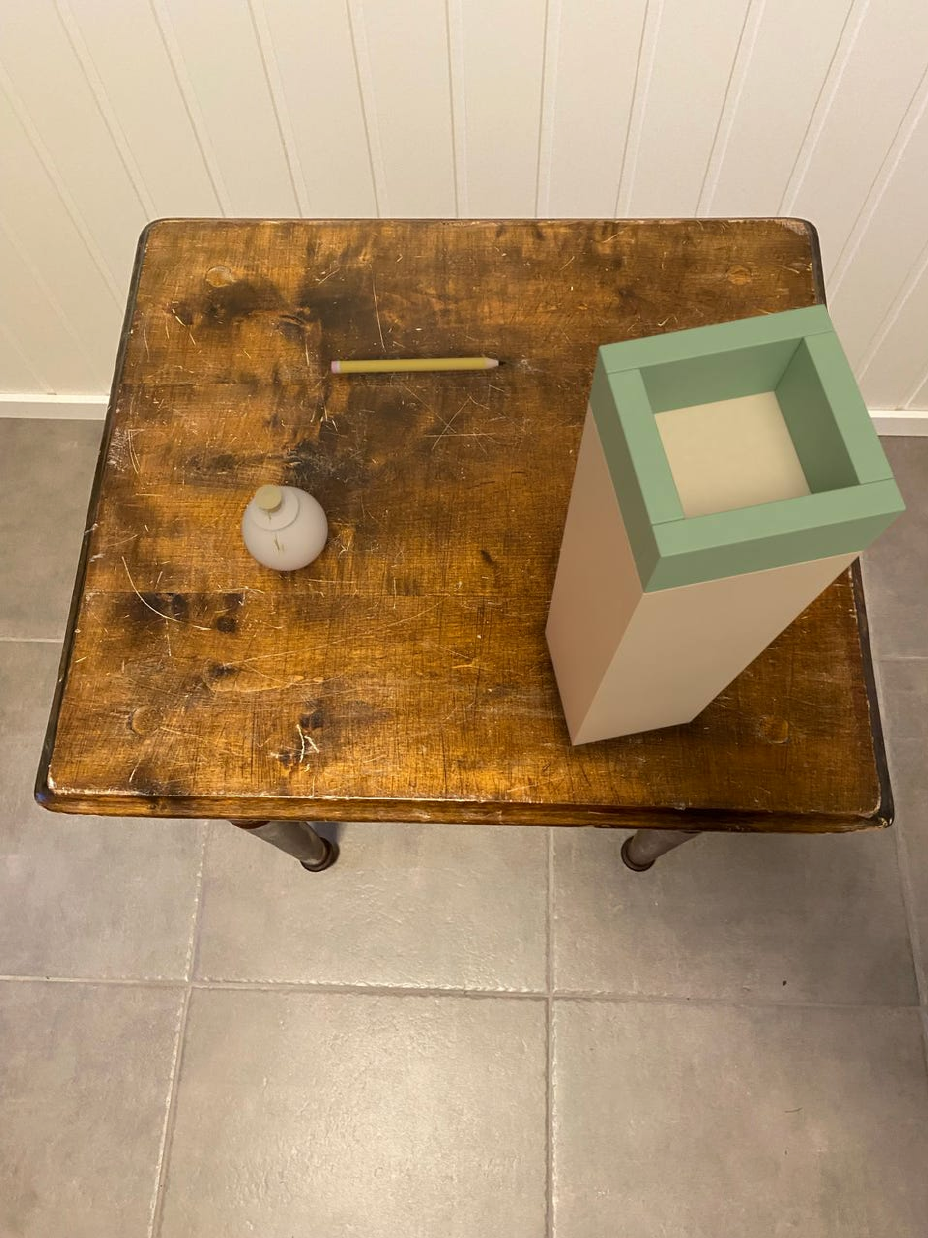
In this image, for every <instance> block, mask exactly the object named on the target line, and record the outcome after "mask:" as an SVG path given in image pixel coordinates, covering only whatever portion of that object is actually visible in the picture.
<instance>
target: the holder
mask: <svg viewBox="0 0 928 1238" xmlns="http://www.w3.org/2000/svg"><path fill="white" fill-rule="evenodd" d="M587 402H588V403H587V408H586V413H585V419H584V423H583V424H584V425H583V428H582V429H583V430H582V435H581V439H580V445H579V451H578V456H577V462H576V466H575V472H574V478H573V482H572V486H571V493H570V499H569V503H568V509H567V514H566V519H565V525H564V529H563V536H562V541H561V546H560V552H559V557H558V562H557V568H556V573H555V579H554V583H553V589H552V595H551V599H550V605H549V609H548V616H547V621H546V625H545V626H546V627H545V631H544V634H545V639H546V642H547V646H548V651H549V654H550V660H551V664H552V668H553V671H554V675H555V679H556V684H557V688H558V692H559V697H560V700H561V704H562V705H561V706H562V709H563V713H564V717H565V721H566V725H567V731H568V735H569V739H570V742H571V746H573V747H575V746H579V745H584V744H588V743H589V744H590V743H593V742H598V741H604V740H609V739H612V738H617V737H622V736H629V735H633V734H638V733H643V732H647V731H652V730H657V729H662V728H668V727H672V726H677V725H681V724H682V725H683V724H687V723H691V722H692V721H693V720H694V719H695V718H697V716H698V715H699V714H700V713H701V712H702V711H704V710H705V708H706V707H707V706H708V705H709V704H711V702H712V701H713V700H715V698H716V697H717V696H718V695H719V694H720V693H721V692H722V691H723V690H725V689H726V688H727V687H728V686H729V684H730V683H732V682H733V680H734V679H736V678H737V677H738V676H739V675H740V674H741V673H742V672H743V671H744V670H745V669H746V668H747V667H748V666H749V665H750V664H751V663H752V662H753V661H754V660H755V659H756V658H757V657H758V656H759V655H760V654H761V653H762V652H764V650H765V649H766V648H767V647H768V646H769V645H770V644H771V643H772V642H773V641H774V640H775V639H776V638H777V637H778V636H779V635H781V633H782V632H783V631H784V630H785V629H786V628H787V627H788V626H789V625H790V624H791V623H792V622H793V621H794V620H795V619H796V618H798V617H799V616H800V615H801V614H802V613H803V612H804V610H806V608H807V607H809V606H810V604H812V603H813V602H814V601H815V600H816V599H817V598H818V597H819V596H820V595H821V594H822V593H823V592H824V591H825V590H827V588H828V587H829V586H830V585H831V584H832V583H833V582H834V581H835V580H836V579H837V578H838V577H839V576H840V575H841V574H842V573H843V572H845V570H846V569H848V567H849V566H850V565H851V564H853V562H854V561H855V560H856V559H857V558H858V557H859V556H861V554H863V552H865V550H866V549H867V548H868V547H870V546H871V545H872V544H873V543H874V542H875V541H876V540H877V539H878V538H879V537H880V536H881V535H882V534H883V533H884V532H885V531H886V530H887V529H888V527H890V526H891V525H892V524H894V522H895V521H896V520H897V519H898V518H899V517H900V516H901V515H902V514H903V513H904V512H905V511H906V510H907V505H906V503H905V501H904V499H903V496H902V493H901V491H900V489H899V488H900V487H899V486H898V483H897V481H896V479H895V475H894V473H893V471H892V470H893V469H892V468H891V465H890V463H889V461H888V458H887V455H886V453H885V451H884V447H883V445H882V442H881V441H880V438H879V436H878V433H877V430H876V428H875V425H874V423H873V421H872V418H871V416H870V413H869V411H868V408H867V406H866V403H865V401H864V398H863V396H862V393H861V390H860V388H859V386H858V384H857V381H856V377H855V376H854V373H853V371H852V368H851V366H850V363H849V361H848V358H847V356H846V353H845V351H844V349H843V346H842V343H841V341H840V338H839V336H838V333H837V331H836V330H835V327H834V324H833V321H832V319H831V317H830V314H829V312H828V309H827V306H826V304H824V303H821V304H816V305H810V306H806V307H805V306H804V307H800V308H794V309H788V310H784V311H778V312H772V313H768V314H767V313H766V314H762V315H758V316H752V317H747V318H740V319H736V320H731V321H725V322H719V323H714V324H709V325H704V326H698V327H694V328H687V329H682V330H677V331H672V332H666V333H661V334H655V335H650V336H645V337H640V338H634V339H629V340H624V341H618V342H612V343H607V344H602V345H599V346H598V349H597V355H596V361H595V366H594V371H593V375H592V382H591V387H590V392H589V398H588V401H587Z"/></svg>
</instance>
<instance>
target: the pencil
mask: <svg viewBox="0 0 928 1238" xmlns="http://www.w3.org/2000/svg"><path fill="white" fill-rule="evenodd" d="M506 364H507V362H504V361H501V360H498V359H494V358H490V357H485V356H484V357H449V358H448V357H447V358H446V357H445V358H444V357H443V358H408V359H407V358H406V359H405V358H404V359H403V358H402V359H369V360H368V359H367V360H365V359H364V360H332V361H331V364H330V365H331V366H330V367H331V373H332V374H357V373H358V374H359V373H363V374H364V373H394V372H395V373H396V372H400V373H401V372H429V371H430V372H432V371H435V372H437V371H438V372H439V371H467V370H468V371H471V370H473V371H474V370H490V369H493V368H496V367H498V366H499V367H500V366H502V365H506Z"/></svg>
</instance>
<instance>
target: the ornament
mask: <svg viewBox="0 0 928 1238" xmlns="http://www.w3.org/2000/svg"><path fill="white" fill-rule="evenodd" d="M328 531H329V527H328V519H327V516H326V513H325V511H324V509H323V507H322V505H321V504H320V502H319V501H318V500H317V499H316V498H315V497H314V496H313V495H311V494H310V493H308V492H307V491H305V490H303V489H301V488H298V487H295V486H289V485H279V486H278V485H274V484H264V485H262V486H260V487H258V489H257V490H256V492H255V494H254V497H253V499H252V500H251V501H250V502H249V504H248V505H247V506H246V509H245V510H244V512H243V515H242V519H241V536H242V540H243V543H244V545H245V547H246V549H247V550H248V552H249V554H251V556H252V557H253V558H254V559H255V560H256V561H257V562H258V563H260V564H261V565H263V566H264V567H267V568H269V569H272V570H276V571H282V572H290V571H296V570H298V569H303V568H304V567H306V566H308V565H310V564H312V562H313V561H315V560H316V559H317V558H318V557H319V556H320V554H321V553H322V551H323V550H324V548H325V546H326V542H327V539H328V534H329V533H328Z"/></svg>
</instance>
